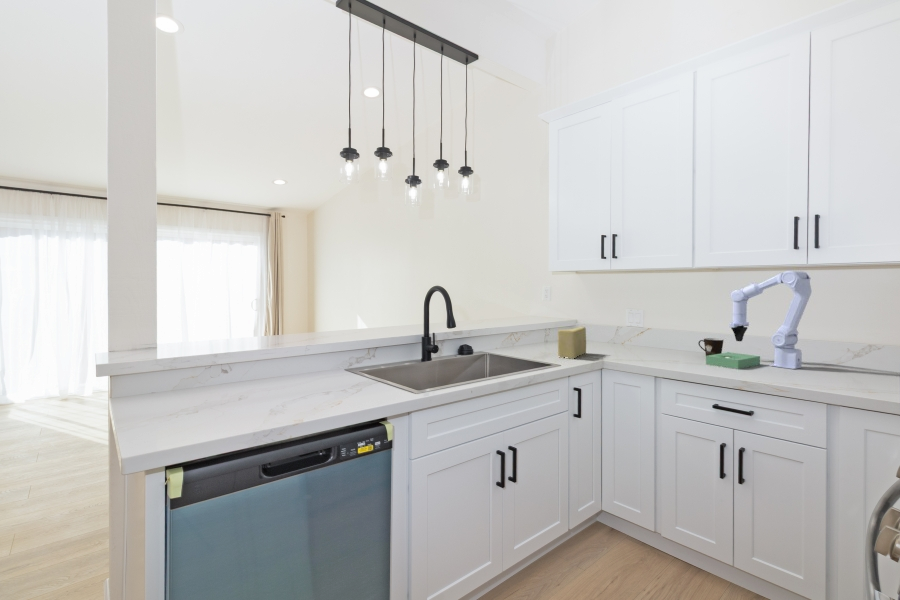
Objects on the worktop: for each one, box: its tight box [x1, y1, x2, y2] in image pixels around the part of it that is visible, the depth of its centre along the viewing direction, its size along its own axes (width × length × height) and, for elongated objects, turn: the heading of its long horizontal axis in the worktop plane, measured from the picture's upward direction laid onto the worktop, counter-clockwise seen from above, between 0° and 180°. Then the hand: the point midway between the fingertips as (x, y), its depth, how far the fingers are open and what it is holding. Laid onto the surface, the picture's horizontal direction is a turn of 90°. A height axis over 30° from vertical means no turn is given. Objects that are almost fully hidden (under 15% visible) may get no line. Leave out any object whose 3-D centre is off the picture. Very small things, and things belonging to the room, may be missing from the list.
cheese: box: [557, 326, 587, 359], centre depth 228 cm, size 22×10×15 cm, turn 137°
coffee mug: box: [697, 337, 724, 357], centre depth 218 cm, size 12×9×10 cm
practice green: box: [705, 351, 761, 370], centre depth 200 cm, size 20×14×4 cm
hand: (739, 341), depth 213 cm, fingers closed
